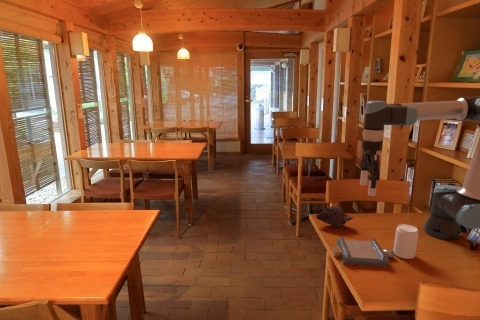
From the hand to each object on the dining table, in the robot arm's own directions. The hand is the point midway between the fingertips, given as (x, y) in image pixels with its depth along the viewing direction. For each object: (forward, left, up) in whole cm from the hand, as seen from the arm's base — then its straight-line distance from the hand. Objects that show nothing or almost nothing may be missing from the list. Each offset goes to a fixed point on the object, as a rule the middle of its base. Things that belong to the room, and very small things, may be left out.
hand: (367, 190), depth 140 cm
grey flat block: (+3, +10, -25) cm, 27 cm away
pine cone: (+9, -18, -25) cm, 32 cm away
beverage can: (-15, +7, -25) cm, 30 cm away
